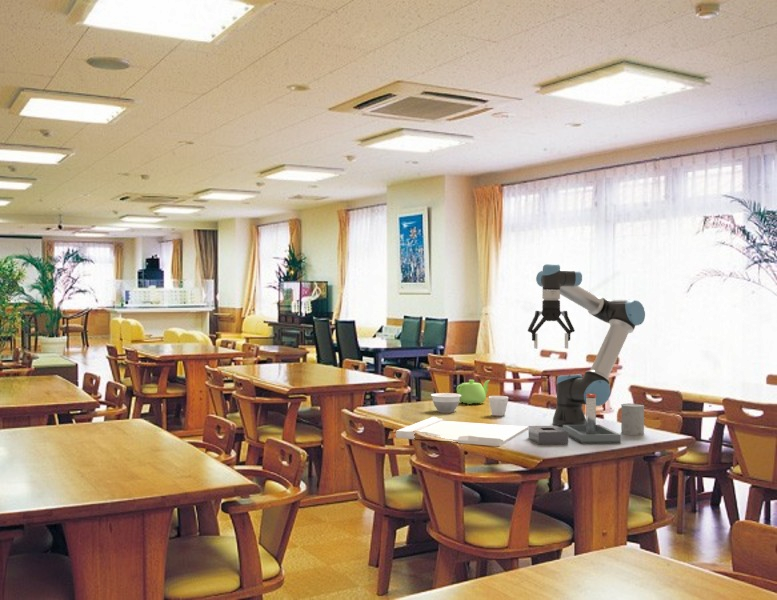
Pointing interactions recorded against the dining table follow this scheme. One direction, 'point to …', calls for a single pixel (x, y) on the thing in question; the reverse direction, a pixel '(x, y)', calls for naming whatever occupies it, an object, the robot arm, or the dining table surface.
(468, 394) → the teapot
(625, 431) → the grey cylinder
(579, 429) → the slate tray
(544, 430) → the block
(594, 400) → the lynch pin
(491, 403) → the cup
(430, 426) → the white flat slab
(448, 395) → the bowl
